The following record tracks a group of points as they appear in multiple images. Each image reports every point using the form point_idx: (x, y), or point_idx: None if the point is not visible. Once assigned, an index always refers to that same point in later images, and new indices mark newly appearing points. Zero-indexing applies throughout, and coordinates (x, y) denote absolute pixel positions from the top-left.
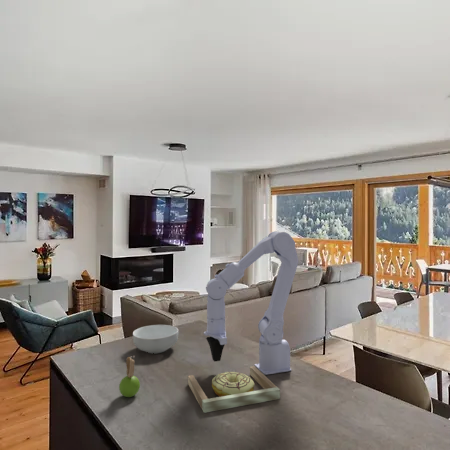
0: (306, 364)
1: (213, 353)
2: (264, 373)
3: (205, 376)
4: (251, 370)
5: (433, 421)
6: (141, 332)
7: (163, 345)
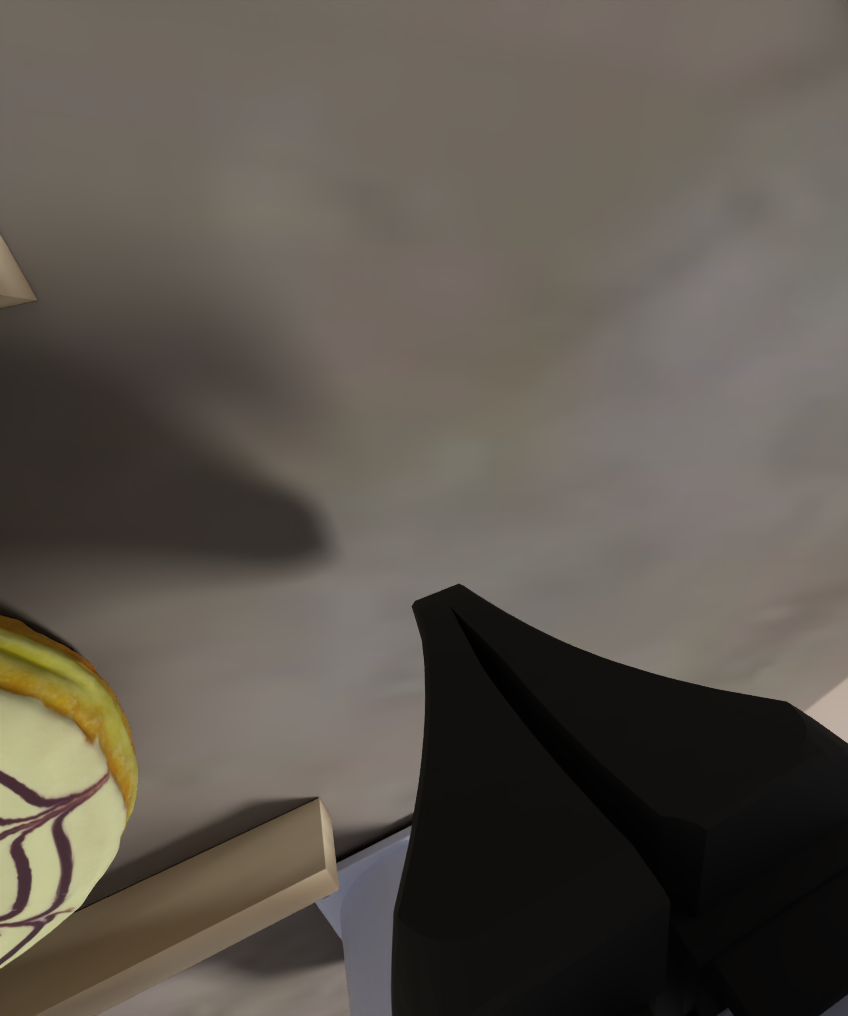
0: None
1: (428, 679)
2: None
3: (290, 459)
4: (293, 861)
5: None
6: None
7: None
